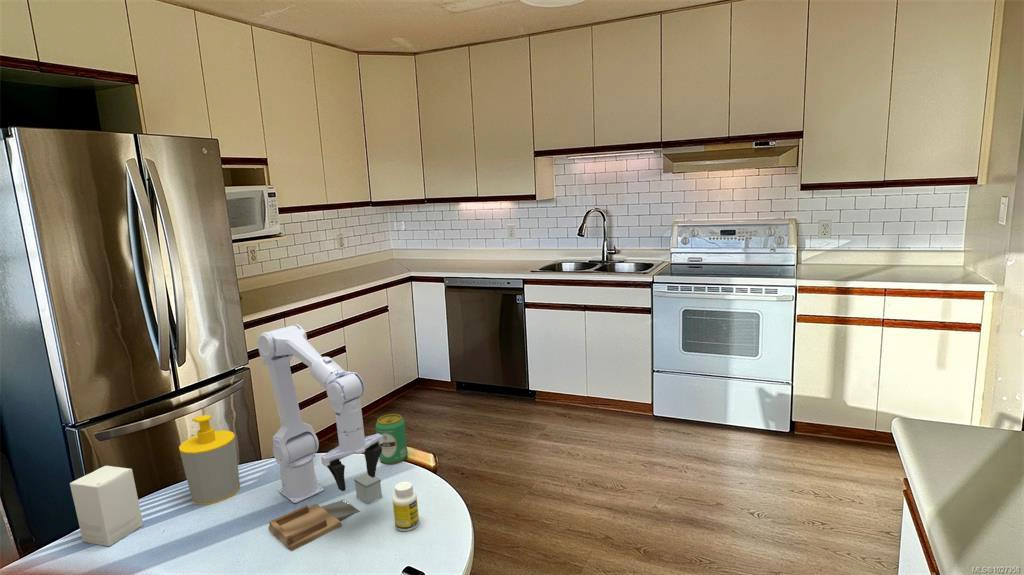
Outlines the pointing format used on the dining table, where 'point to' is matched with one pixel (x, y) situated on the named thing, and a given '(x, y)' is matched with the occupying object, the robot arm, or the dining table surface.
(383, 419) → the beverage can
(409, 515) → the supplement bottle
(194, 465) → the soap bottle
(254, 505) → the dining table surface
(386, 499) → the dining table surface
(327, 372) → the robot arm
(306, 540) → the dock
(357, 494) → the grey lidded box
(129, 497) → the supplement box
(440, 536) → the dining table surface
